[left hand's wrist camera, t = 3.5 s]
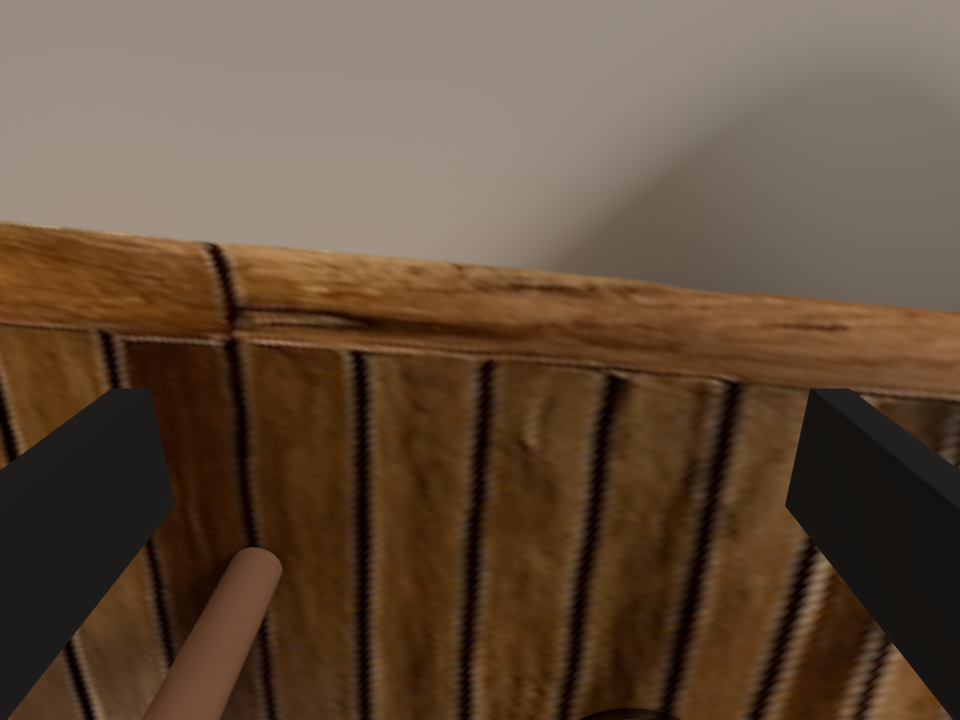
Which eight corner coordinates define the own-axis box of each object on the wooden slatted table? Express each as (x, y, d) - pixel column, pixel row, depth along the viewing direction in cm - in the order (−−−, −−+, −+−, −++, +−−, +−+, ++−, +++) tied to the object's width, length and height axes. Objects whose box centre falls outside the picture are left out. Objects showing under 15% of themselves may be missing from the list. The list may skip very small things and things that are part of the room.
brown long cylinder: (224, 549, 48) (82, 789, 31) (275, 544, 48) (161, 782, 31) (238, 591, 49) (111, 841, 32) (288, 585, 49) (186, 835, 32)
